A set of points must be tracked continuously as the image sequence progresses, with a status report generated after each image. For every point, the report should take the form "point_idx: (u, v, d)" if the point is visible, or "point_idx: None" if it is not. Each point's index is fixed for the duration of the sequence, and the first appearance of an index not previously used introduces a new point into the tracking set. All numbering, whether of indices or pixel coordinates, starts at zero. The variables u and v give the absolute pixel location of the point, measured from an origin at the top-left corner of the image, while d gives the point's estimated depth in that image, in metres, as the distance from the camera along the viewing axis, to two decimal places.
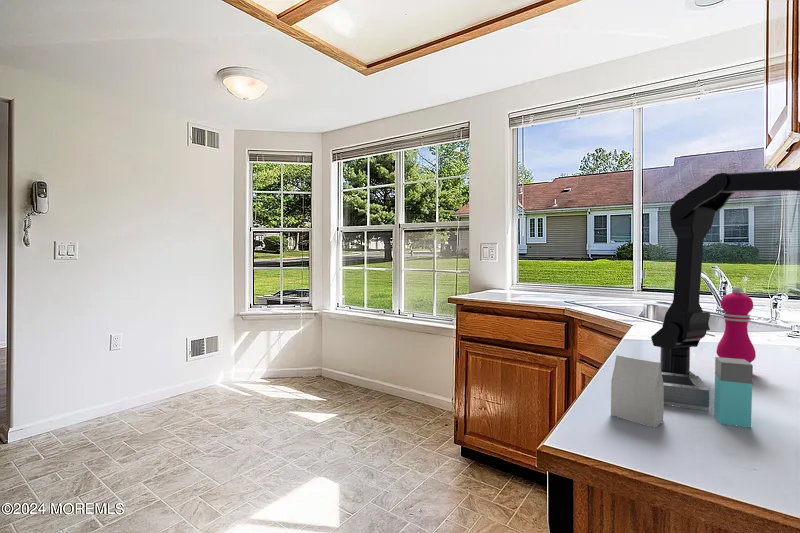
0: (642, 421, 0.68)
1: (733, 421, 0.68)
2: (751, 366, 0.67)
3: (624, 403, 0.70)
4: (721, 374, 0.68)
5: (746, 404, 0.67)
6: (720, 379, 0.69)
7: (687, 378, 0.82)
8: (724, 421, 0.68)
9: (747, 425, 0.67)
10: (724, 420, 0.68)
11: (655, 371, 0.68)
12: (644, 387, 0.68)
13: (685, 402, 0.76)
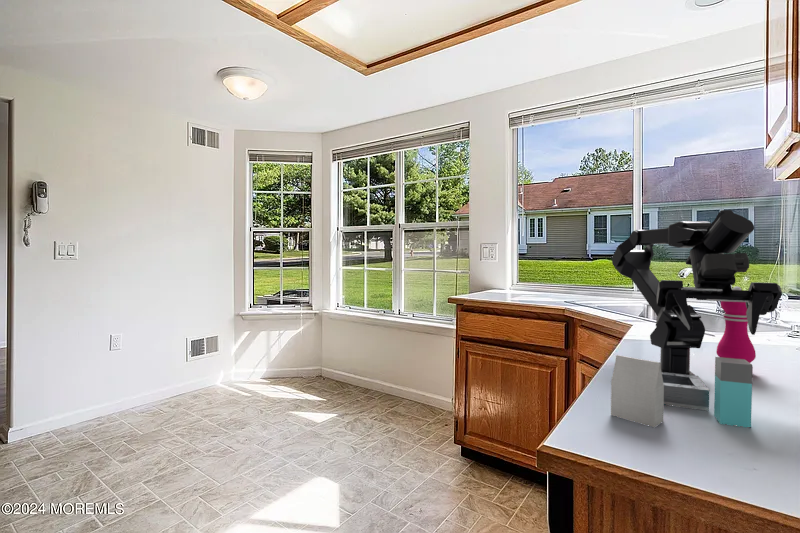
0: (642, 421, 0.68)
1: (733, 421, 0.68)
2: (751, 366, 0.67)
3: (624, 403, 0.70)
4: (721, 374, 0.68)
5: (746, 404, 0.67)
6: (720, 379, 0.69)
7: (687, 378, 0.82)
8: (724, 421, 0.68)
9: (747, 425, 0.67)
10: (724, 420, 0.68)
11: (655, 371, 0.68)
12: (644, 387, 0.68)
13: (685, 402, 0.76)
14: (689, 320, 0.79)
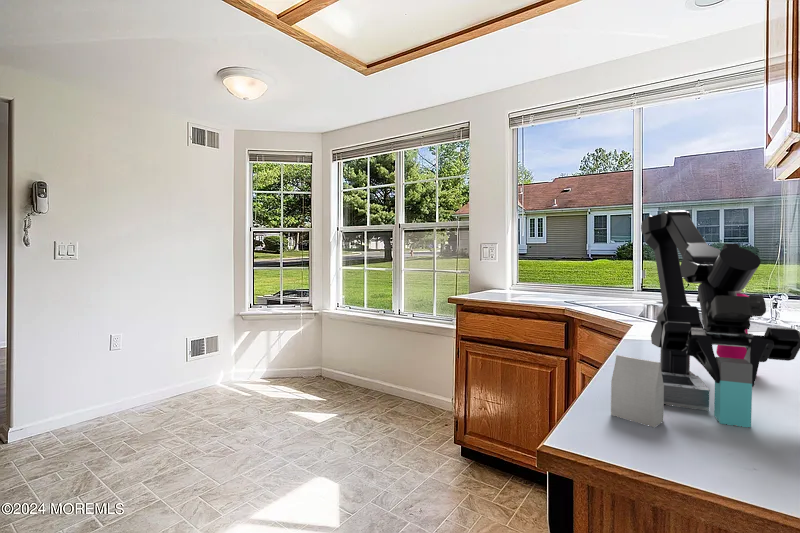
0: (642, 421, 0.68)
1: (733, 421, 0.68)
2: (751, 366, 0.67)
3: (624, 403, 0.70)
4: (721, 374, 0.68)
5: (746, 404, 0.67)
6: (720, 379, 0.69)
7: (687, 378, 0.82)
8: (724, 421, 0.68)
9: (747, 425, 0.67)
10: (724, 420, 0.68)
11: (655, 371, 0.68)
12: (644, 387, 0.68)
13: (685, 402, 0.76)
14: (716, 371, 0.69)
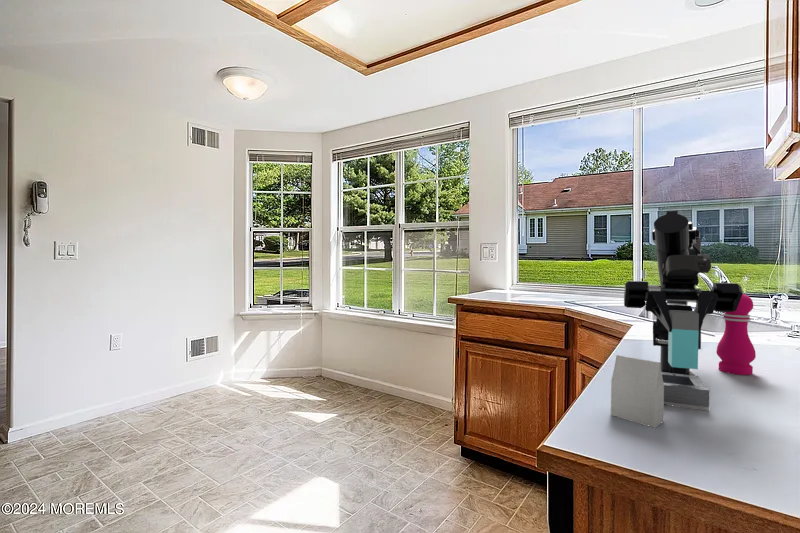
0: (642, 421, 0.68)
1: (683, 364, 0.77)
2: (698, 315, 0.76)
3: (624, 403, 0.70)
4: (672, 323, 0.78)
5: (693, 349, 0.76)
6: (672, 328, 0.78)
7: (687, 378, 0.82)
8: (675, 364, 0.78)
9: (694, 367, 0.76)
10: (675, 363, 0.78)
11: (655, 371, 0.68)
12: (644, 387, 0.68)
13: (685, 402, 0.76)
14: (669, 321, 0.79)
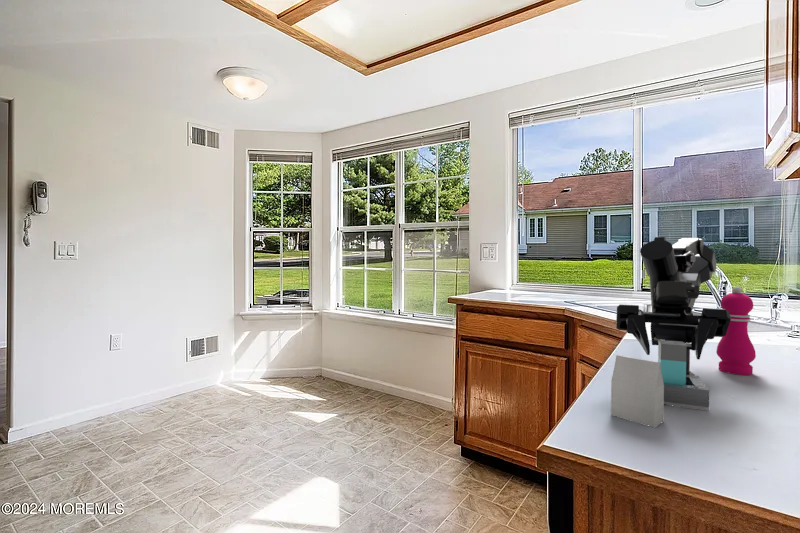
0: (642, 421, 0.68)
1: None
2: (685, 346, 0.78)
3: (624, 403, 0.70)
4: (661, 354, 0.80)
5: (681, 379, 0.78)
6: (660, 358, 0.80)
7: (687, 378, 0.82)
8: None
9: None
10: None
11: (655, 371, 0.68)
12: (644, 387, 0.68)
13: (685, 402, 0.76)
14: (647, 345, 0.82)
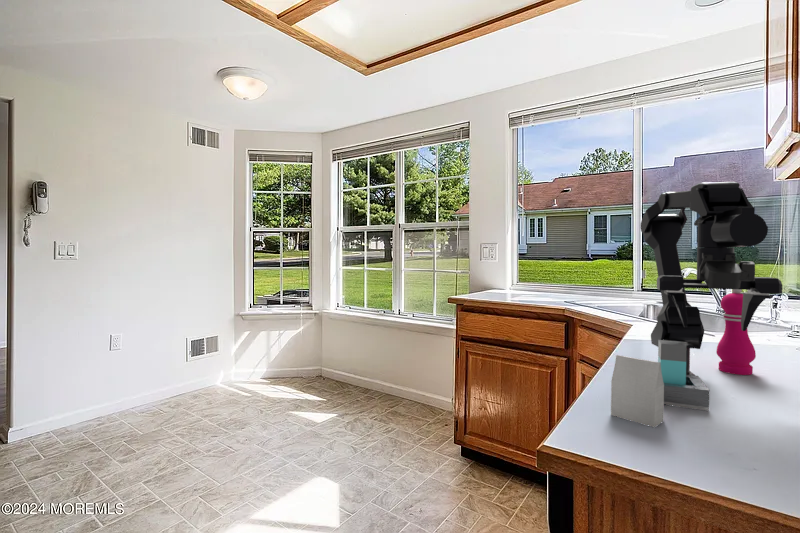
0: (642, 421, 0.68)
1: None
2: (685, 346, 0.78)
3: (624, 403, 0.70)
4: (661, 354, 0.80)
5: (681, 379, 0.78)
6: (660, 358, 0.80)
7: (687, 378, 0.82)
8: None
9: None
10: None
11: (655, 371, 0.68)
12: (644, 387, 0.68)
13: (685, 402, 0.76)
14: (685, 320, 0.83)
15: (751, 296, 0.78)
